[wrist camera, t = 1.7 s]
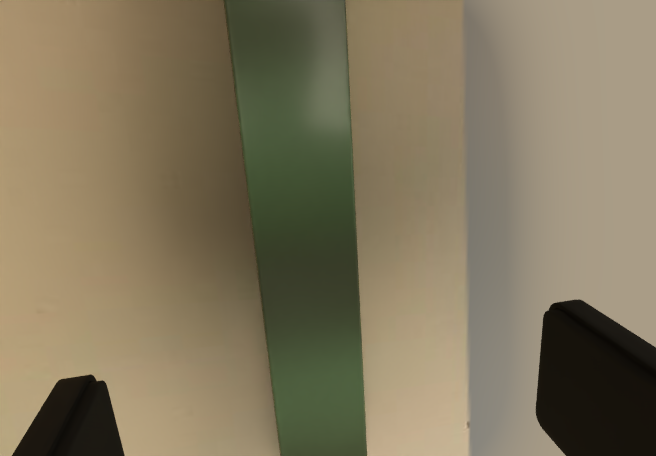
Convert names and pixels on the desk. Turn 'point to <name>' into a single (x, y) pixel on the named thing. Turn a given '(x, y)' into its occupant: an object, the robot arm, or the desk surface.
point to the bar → (303, 215)
